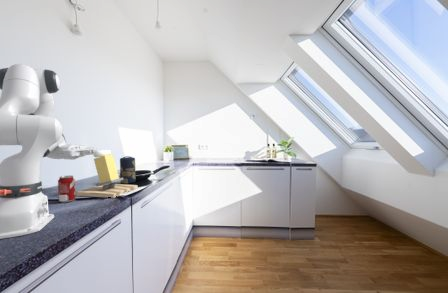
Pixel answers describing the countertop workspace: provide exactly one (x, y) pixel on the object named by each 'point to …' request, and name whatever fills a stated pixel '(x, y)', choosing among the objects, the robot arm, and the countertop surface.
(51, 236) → the countertop surface
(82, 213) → the countertop surface
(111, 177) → the yellow boxy piece
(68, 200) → the soda can
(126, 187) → the wooden slatted trivet
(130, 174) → the canister
